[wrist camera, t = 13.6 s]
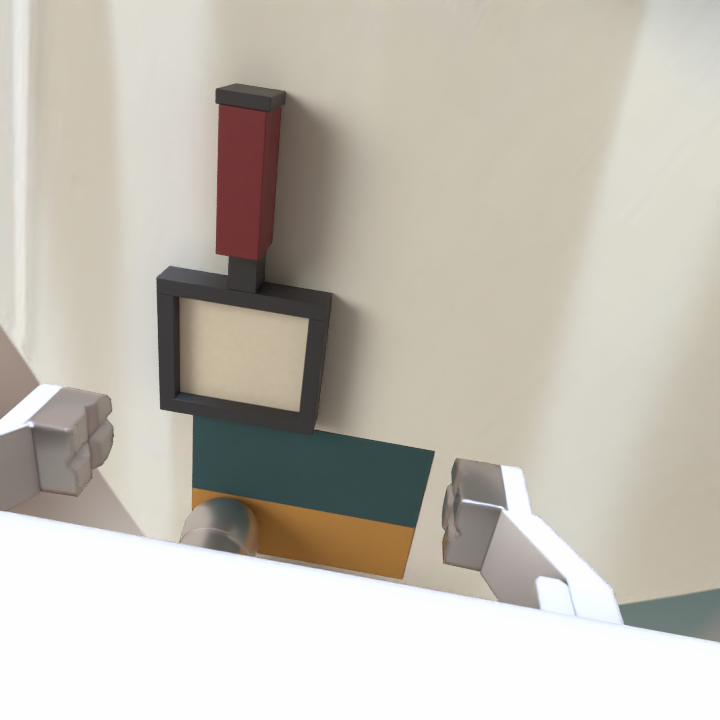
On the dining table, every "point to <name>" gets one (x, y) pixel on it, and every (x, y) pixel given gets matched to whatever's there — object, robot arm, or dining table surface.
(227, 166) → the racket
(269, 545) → the mat
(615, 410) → the dining table surface
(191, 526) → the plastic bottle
